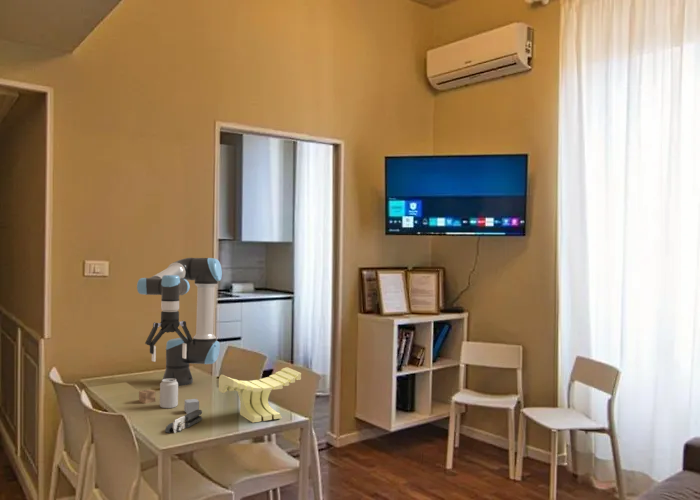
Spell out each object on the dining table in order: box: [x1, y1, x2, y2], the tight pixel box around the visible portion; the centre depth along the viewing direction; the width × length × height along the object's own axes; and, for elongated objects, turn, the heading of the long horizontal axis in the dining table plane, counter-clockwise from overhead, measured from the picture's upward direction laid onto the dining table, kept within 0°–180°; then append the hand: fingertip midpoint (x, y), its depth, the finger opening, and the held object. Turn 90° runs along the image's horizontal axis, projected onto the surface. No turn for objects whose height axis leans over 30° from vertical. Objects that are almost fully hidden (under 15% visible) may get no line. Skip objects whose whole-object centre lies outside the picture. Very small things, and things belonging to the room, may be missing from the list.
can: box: [159, 378, 179, 409], centre depth 261 cm, size 8×8×12 cm
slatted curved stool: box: [218, 366, 302, 423], centre depth 251 cm, size 30×16×18 cm, turn 123°
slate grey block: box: [183, 398, 200, 415], centre depth 254 cm, size 5×5×5 cm
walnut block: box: [138, 389, 157, 404], centre depth 268 cm, size 5×5×5 cm
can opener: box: [164, 409, 203, 434], centre depth 234 cm, size 19×6×5 cm, turn 160°
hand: (169, 359), depth 260 cm, fingers open, 13 cm apart
